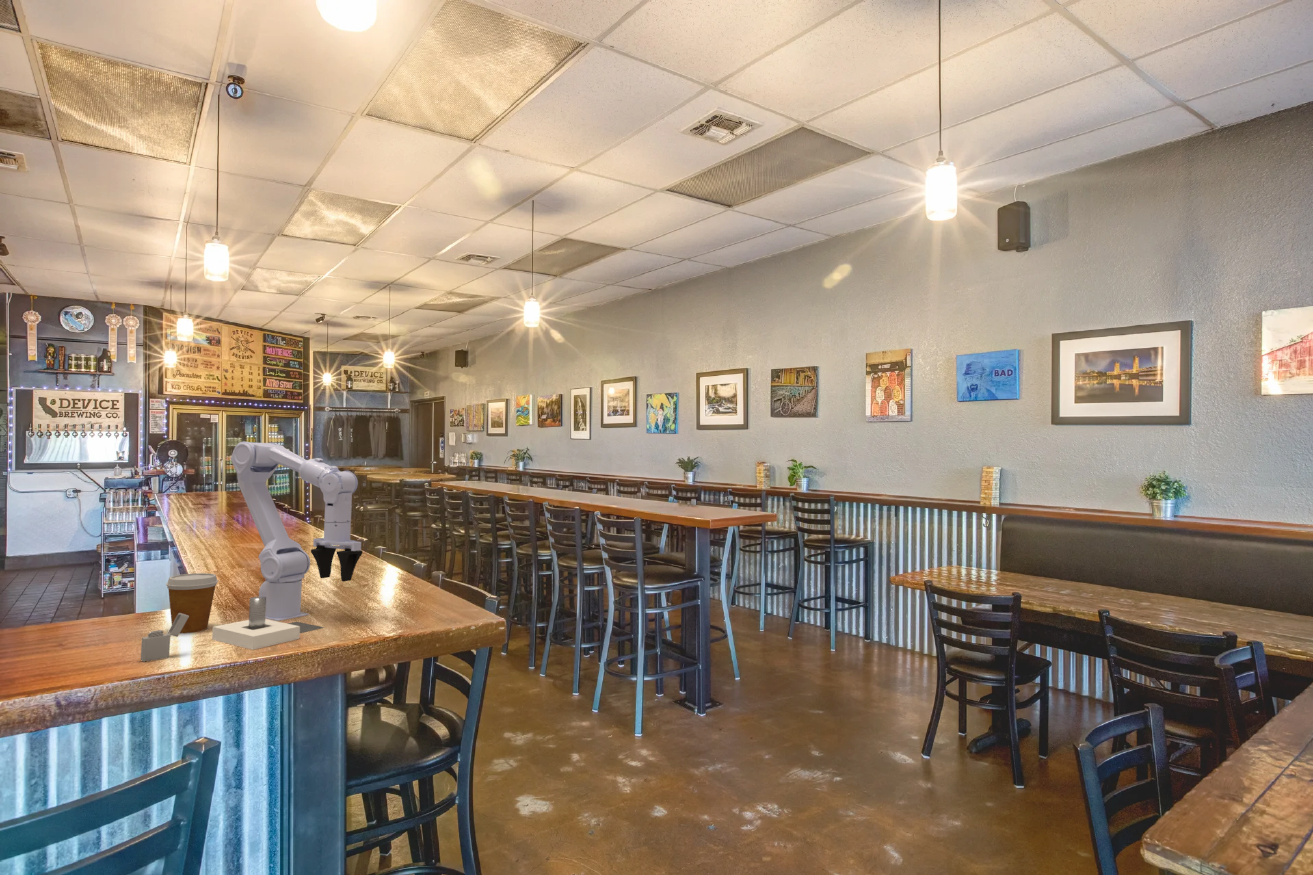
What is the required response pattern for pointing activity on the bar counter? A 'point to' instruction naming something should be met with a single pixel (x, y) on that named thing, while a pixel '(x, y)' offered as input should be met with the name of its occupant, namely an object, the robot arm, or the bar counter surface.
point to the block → (255, 634)
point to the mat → (305, 626)
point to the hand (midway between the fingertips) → (335, 579)
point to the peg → (257, 613)
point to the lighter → (161, 640)
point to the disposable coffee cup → (192, 599)
